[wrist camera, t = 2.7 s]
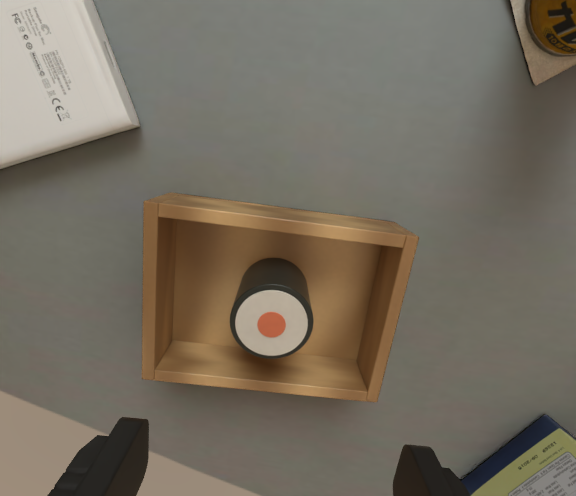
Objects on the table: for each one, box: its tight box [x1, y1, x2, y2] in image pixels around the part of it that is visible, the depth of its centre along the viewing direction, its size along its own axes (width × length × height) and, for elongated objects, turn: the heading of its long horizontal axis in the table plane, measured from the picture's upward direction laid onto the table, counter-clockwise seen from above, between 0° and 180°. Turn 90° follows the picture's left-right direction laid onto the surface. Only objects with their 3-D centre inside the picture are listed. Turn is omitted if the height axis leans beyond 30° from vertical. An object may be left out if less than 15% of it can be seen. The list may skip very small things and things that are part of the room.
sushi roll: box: [230, 258, 314, 359], centre depth 20 cm, size 5×5×5 cm
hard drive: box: [0, 0, 140, 169], centre depth 19 cm, size 2×8×12 cm
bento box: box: [142, 193, 419, 402], centre depth 21 cm, size 16×12×4 cm
